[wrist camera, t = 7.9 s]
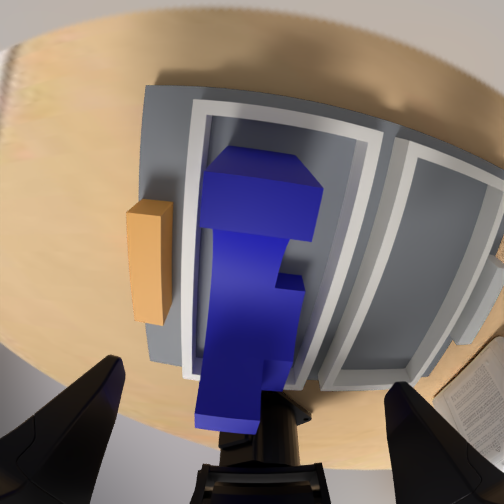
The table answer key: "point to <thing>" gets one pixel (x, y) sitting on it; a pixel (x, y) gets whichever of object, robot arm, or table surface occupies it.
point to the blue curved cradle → (251, 280)
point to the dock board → (322, 235)
